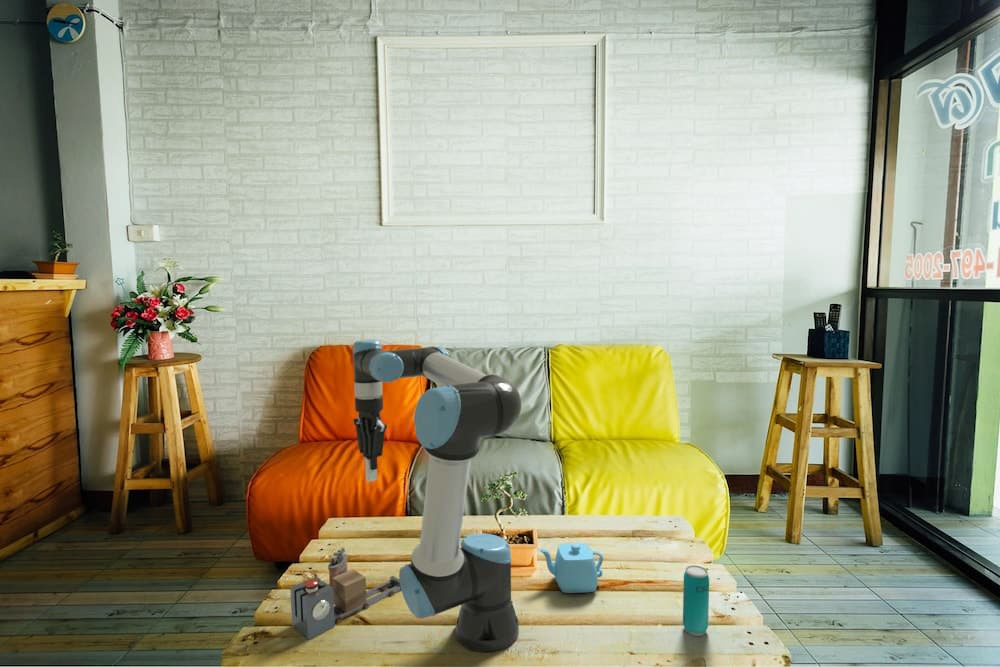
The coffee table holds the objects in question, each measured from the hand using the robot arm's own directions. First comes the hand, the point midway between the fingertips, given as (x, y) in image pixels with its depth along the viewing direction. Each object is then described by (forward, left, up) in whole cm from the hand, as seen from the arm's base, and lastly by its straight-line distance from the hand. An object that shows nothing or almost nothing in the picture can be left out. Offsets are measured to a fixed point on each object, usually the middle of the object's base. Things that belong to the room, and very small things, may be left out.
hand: (371, 479), depth 158 cm
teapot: (-42, -36, -30) cm, 63 cm away
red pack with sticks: (+5, +8, -30) cm, 31 cm away
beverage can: (-76, -39, -30) cm, 91 cm away
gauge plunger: (-7, +22, -25) cm, 34 cm away
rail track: (-7, +12, -29) cm, 33 cm away
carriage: (-7, +12, -28) cm, 31 cm away
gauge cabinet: (-7, +22, -29) cm, 38 cm away
